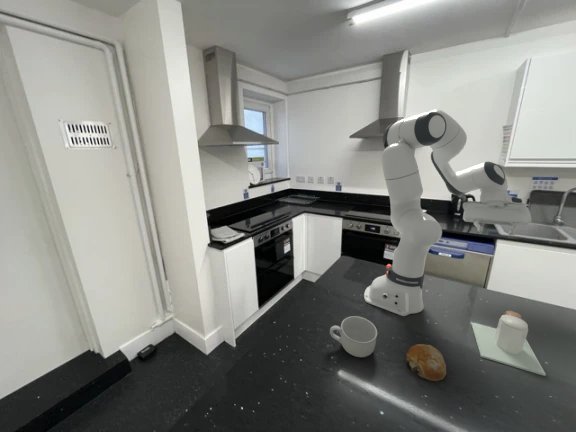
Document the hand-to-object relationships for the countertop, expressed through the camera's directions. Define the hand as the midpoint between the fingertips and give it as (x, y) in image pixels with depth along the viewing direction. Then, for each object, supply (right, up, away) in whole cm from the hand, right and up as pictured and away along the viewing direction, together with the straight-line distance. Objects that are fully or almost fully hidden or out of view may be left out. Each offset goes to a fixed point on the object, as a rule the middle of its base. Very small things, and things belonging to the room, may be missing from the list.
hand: (495, 232), depth 91 cm
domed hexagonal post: (-10, -34, -16) cm, 39 cm away
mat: (-11, -35, -15) cm, 39 cm away
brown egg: (+2, -32, -5) cm, 32 cm away
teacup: (-58, -36, -15) cm, 70 cm away
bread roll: (-40, -37, -22) cm, 59 cm away
